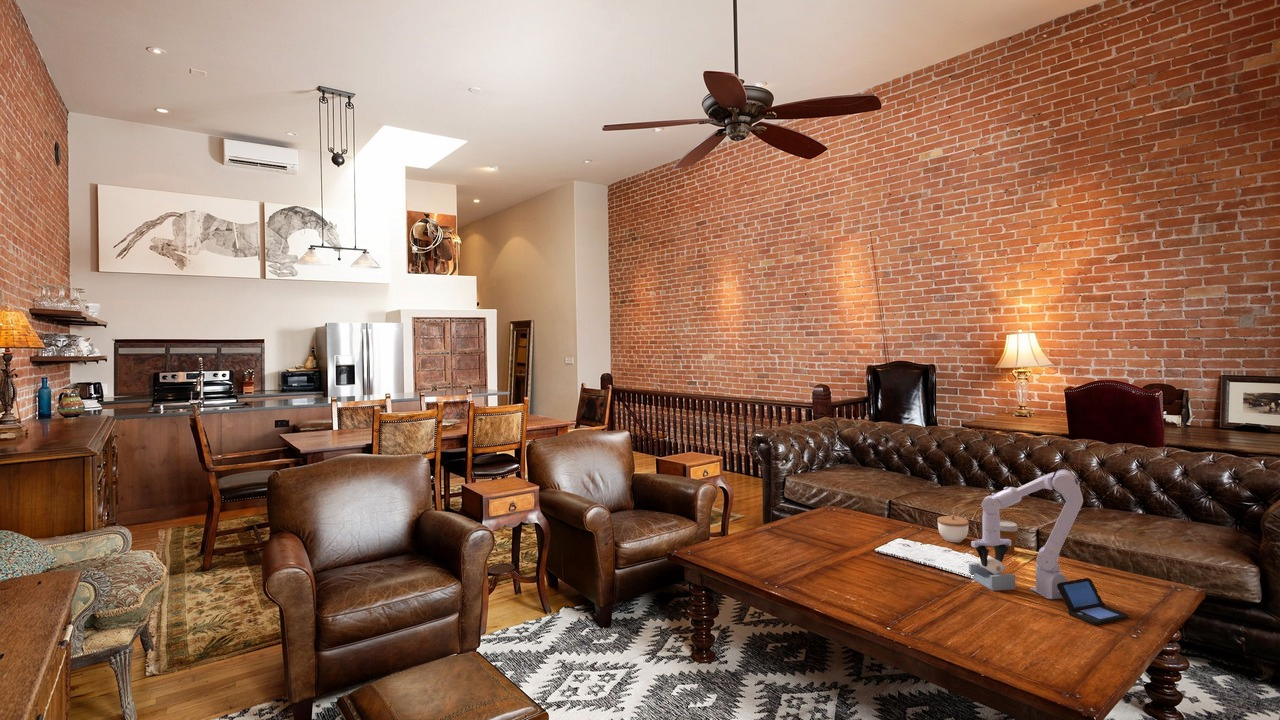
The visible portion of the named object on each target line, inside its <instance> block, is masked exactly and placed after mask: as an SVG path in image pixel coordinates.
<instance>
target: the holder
mask: <svg viewBox="0 0 1280 720" xmlns="http://www.w3.org/2000/svg"><path fill="white" fill-rule="evenodd" d="M969 573H970V574H971V575H974V576H972V577H973V579H972V580H974V581H976V582H977V583H979V584H980V585H983V586H984V587H985V588H987V589H989V590H990V591H993V592H995V591H1010V590H1017V587H1016V574H1014V573H1007V574H1003V573H1002V574H998V575H996V574H994V573H992V572H990V571H988V570H987V569H985V568H983V567H981V566H980V565H979V563H978V562H977V563H976V562H973V563H972V562H971V563H968V574H969Z"/></svg>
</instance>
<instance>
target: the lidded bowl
mask: <svg viewBox="0 0 1280 720" xmlns="http://www.w3.org/2000/svg"><path fill="white" fill-rule="evenodd" d="M969 523H970V522H969V519H966V518H963V517H960V516H955V514H954V515H953V514H952V515H943V516H942V515H941V516H939V517H937V528H938V532H939V534H940V535H941V537H942V538H943V540H944V541H946V542H950V543H961V542H963V540H965V539H966V538H967V536H968V534H969Z"/></svg>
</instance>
